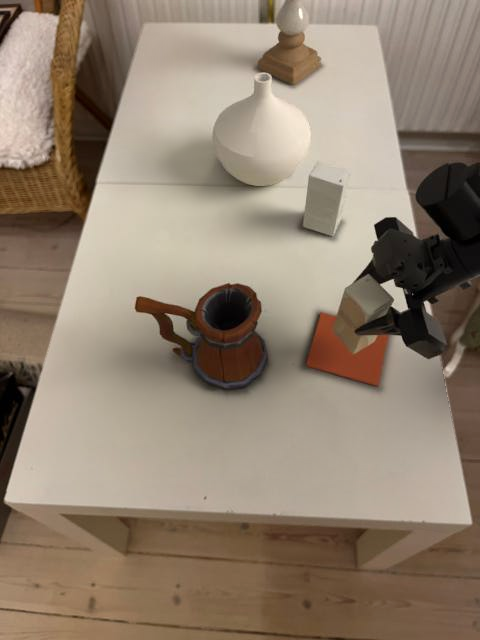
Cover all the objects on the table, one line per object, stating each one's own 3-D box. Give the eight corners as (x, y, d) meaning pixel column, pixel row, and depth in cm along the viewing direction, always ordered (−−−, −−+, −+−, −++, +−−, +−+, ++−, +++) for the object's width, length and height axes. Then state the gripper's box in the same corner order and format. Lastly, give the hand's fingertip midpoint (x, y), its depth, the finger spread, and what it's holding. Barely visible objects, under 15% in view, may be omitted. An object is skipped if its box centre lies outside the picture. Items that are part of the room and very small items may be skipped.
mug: (144, 384, 73) (121, 334, 60) (159, 319, 79) (142, 261, 66) (263, 396, 72) (267, 347, 59) (270, 329, 78) (274, 272, 65)
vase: (321, 186, 95) (336, 96, 78) (232, 211, 91) (229, 122, 75) (285, 130, 104) (291, 38, 88) (203, 151, 101) (194, 60, 84)
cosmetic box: (340, 221, 90) (352, 169, 80) (333, 237, 88) (344, 186, 78) (309, 211, 91) (317, 159, 81) (301, 227, 89) (308, 175, 79)
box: (331, 330, 72) (342, 286, 63) (353, 316, 73) (368, 271, 64) (354, 356, 70) (369, 314, 60) (377, 342, 71) (395, 298, 61)
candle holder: (321, 65, 116) (336, -53, 96) (293, 85, 112) (302, -33, 92) (285, 48, 120) (292, -68, 100) (256, 68, 116) (258, -50, 96)
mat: (388, 331, 77) (389, 330, 77) (377, 386, 72) (378, 385, 72) (320, 313, 79) (321, 312, 79) (305, 366, 74) (305, 364, 74)
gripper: (409, 164, 57) (306, 233, 66) (452, 295, 47) (323, 355, 56) (453, 210, 63) (354, 267, 73) (500, 333, 53) (377, 381, 63)
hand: (352, 312), depth 66 cm, fingers closed on box, 6 cm apart
